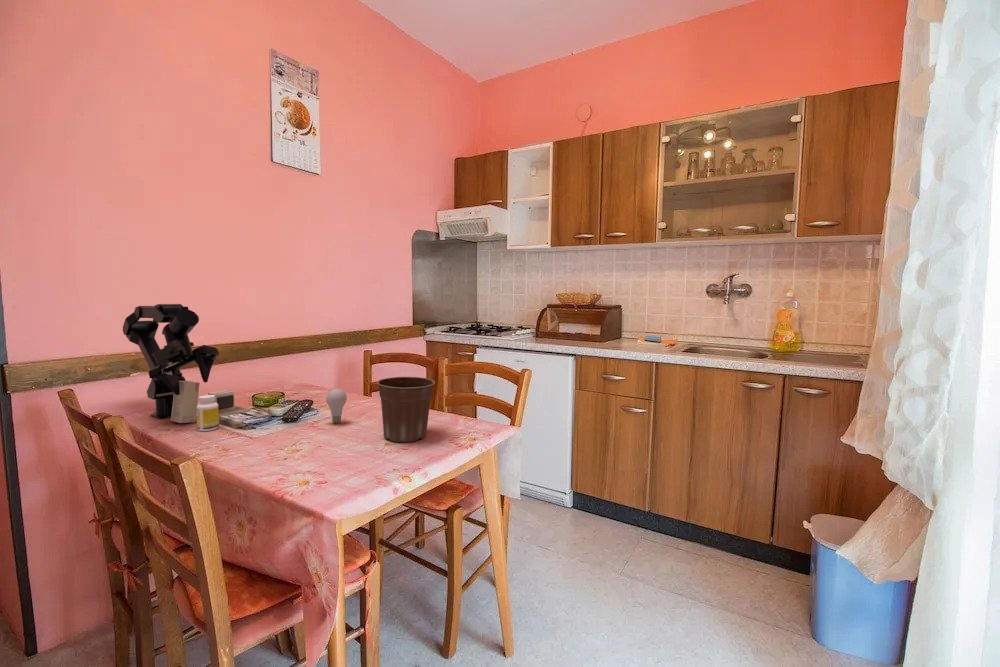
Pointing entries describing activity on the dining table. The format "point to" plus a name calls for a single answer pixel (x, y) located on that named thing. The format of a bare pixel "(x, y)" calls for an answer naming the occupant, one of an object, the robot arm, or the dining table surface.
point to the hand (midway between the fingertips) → (191, 388)
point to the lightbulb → (336, 403)
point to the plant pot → (405, 407)
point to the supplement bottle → (207, 413)
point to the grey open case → (232, 409)
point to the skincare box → (185, 402)
